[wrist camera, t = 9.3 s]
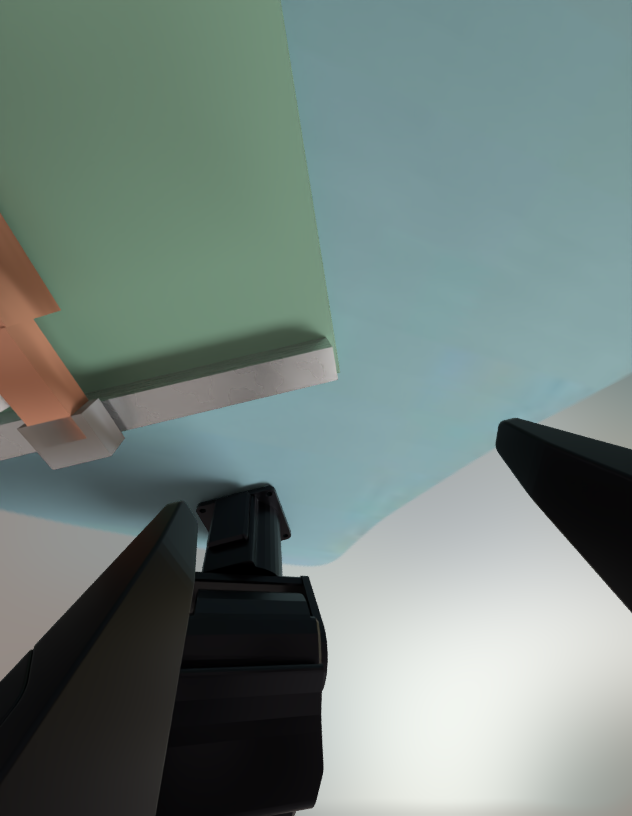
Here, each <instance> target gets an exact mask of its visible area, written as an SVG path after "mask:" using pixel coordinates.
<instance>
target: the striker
mask: <svg viewBox="0 0 632 816" xmlns="http://www.w3.org/2000/svg"><path fill="white" fill-rule="evenodd" d="M57 311H61V309H60V308H59V306H58V304H57V303H56V301H55V300H54V298H53V296H52V295H51V293H50V292H49V290H48V288H47V287H46V285H45V284H44V282H43V280H42V279H41V277H40V276H39V274H38V272H37V271H36V269H35V268H34V266H33V264H32V263H31V261H30V260H29V258H28V256H27V255H26V253H25V252H24V250H23V248H22V247H21V245H20V244H19V242H18V240H17V239H16V237H15V236H14V234H13V232H12V231H11V229H10V228H9V226H8V224H7V223H6V221H5V220H4V218H3V216H2V215H1V213H0V395H1V396H2V397H3V398H4V399H5V401H6V402H7V403H8V404H9V405H10V406H11V408H12V409H13V410H14V411H15V412H16V414H17V415H18V416H19V417H20V418H21V419H22V421H23V422H24V424H23V425H21V426H20V427H19V428H17V430H18V431H19V432H20V433H21V434H22V436H23V437H24V438H25V439H26V440H27V441H28V442H29V443H30V445H31V446H32V447H33V448H34V449H35V450H36V451H37V453H38V454H39V455H40V456H41V457H42V458H43V459H44V460H45V462H46V463H47V464H48V465H49V466H50V467H51V468H52V470H56V469H60V468H64V467H68V466H72V465H76V464H80V463H85V462H89V461H93V460H97V459H101V458H105V457H109V456H112V455H113V453H114V452H115V451H116V449H117V448H118V447H119V445H120V444H121V443H122V441H123V440H124V439H125V437H124V436H123V434H122V433H121V431H120V430H119V428H118V427H117V425H116V424H115V422H114V421H113V419H112V418H111V416H110V415H109V413H108V412H107V410H106V409H105V407H104V406H103V404H102V403H101V401H100V400H99V398H97V399H93V400H88V398H87V397H86V396H85V394H84V393H83V391H82V390H81V388H80V387H79V385H78V384H77V382H76V381H75V379H74V378H73V376H72V375H71V374H70V372H69V371H68V369H67V368H66V366H65V365H64V363H63V362H62V360H61V359H60V357H59V356H58V355H57V353H56V352H55V350H54V349H53V347H52V346H51V344H50V343H49V341H48V340H47V338H46V337H45V335H44V334H43V333H42V331H41V330H40V328H39V327H38V325H37V324H36V322H35V321H34V319H35V318H38V317H41V316H44V315H48V314H51V313H54V312H57Z"/></svg>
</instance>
